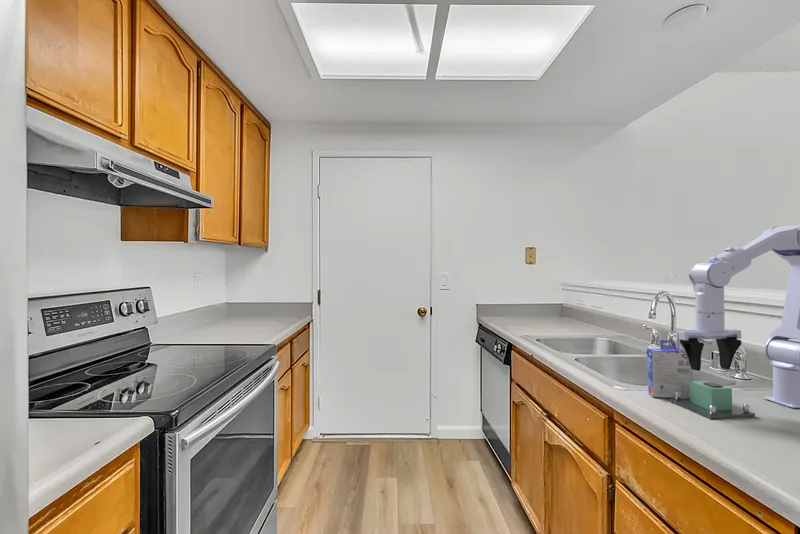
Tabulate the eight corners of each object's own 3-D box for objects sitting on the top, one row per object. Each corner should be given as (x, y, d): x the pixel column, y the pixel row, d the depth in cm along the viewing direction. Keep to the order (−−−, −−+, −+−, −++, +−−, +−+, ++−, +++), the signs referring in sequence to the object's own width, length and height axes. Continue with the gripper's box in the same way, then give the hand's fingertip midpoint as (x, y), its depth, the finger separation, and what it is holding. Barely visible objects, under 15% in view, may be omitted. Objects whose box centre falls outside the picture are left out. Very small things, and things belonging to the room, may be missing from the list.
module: (708, 400, 113) (708, 379, 113) (731, 409, 106) (731, 386, 106) (690, 401, 113) (689, 379, 113) (712, 410, 106) (711, 387, 106)
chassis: (710, 399, 116) (710, 389, 116) (755, 417, 103) (755, 405, 103) (670, 401, 115) (670, 391, 115) (710, 419, 102) (710, 407, 102)
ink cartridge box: (686, 393, 122) (685, 339, 122) (695, 399, 117) (694, 343, 117) (646, 392, 124) (645, 339, 124) (653, 397, 119) (652, 342, 119)
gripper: (693, 315, 104) (694, 374, 105) (752, 313, 106) (752, 371, 106) (672, 311, 111) (673, 367, 112) (727, 310, 113) (728, 365, 113)
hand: (710, 369), depth 109 cm, fingers open, 7 cm apart
